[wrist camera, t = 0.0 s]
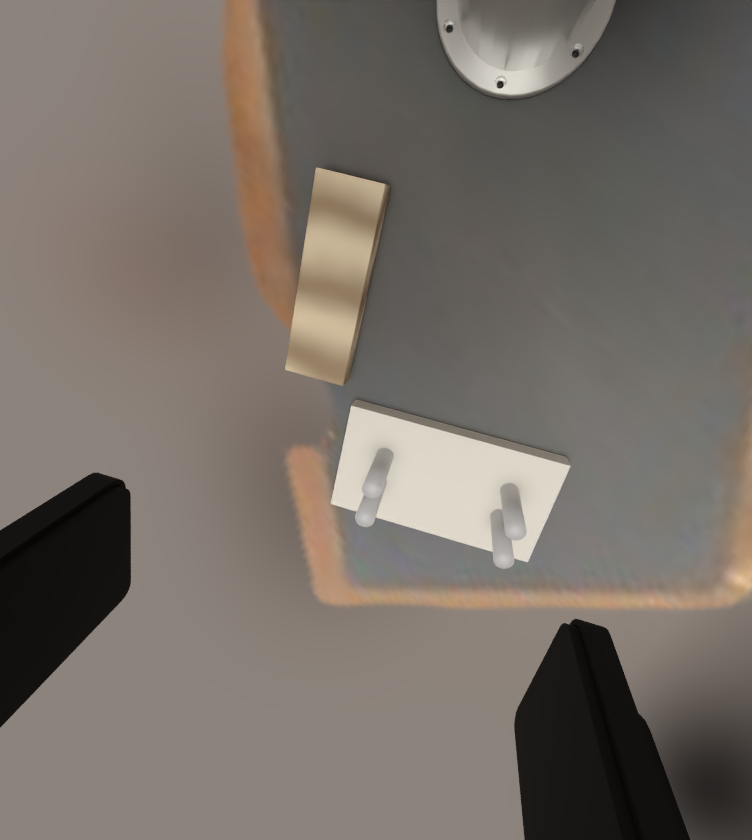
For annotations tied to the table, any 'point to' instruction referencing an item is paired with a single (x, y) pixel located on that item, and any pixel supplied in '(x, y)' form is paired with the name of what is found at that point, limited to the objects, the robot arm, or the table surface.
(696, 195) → the table surface
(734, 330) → the table surface
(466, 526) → the peg stand
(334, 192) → the shelf board
